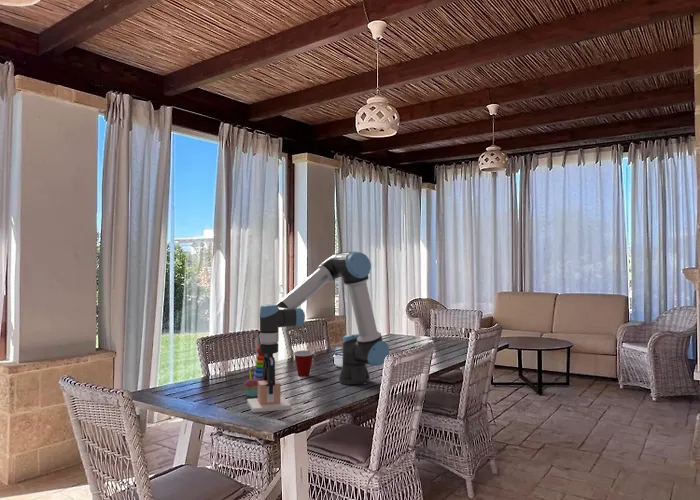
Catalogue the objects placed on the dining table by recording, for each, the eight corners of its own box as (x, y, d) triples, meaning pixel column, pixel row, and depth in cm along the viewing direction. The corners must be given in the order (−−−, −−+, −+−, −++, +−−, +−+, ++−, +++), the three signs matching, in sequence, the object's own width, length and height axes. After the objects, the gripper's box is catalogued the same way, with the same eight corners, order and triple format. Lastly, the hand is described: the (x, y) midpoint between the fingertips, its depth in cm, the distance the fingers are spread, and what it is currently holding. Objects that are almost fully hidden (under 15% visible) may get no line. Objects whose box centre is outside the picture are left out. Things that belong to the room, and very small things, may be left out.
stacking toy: (266, 386, 244) (266, 346, 245) (250, 385, 246) (250, 346, 246) (272, 383, 252) (272, 344, 253) (256, 382, 254) (256, 343, 254)
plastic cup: (289, 376, 266) (289, 353, 267) (299, 372, 276) (299, 349, 277) (308, 378, 262) (308, 354, 262) (317, 374, 272) (317, 351, 272)
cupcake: (253, 398, 223) (253, 370, 223) (238, 396, 227) (238, 368, 228) (266, 394, 230) (266, 367, 230) (252, 391, 235) (252, 365, 235)
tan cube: (276, 398, 217) (276, 379, 217) (280, 403, 210) (280, 383, 210) (257, 400, 214) (257, 381, 214) (260, 405, 207) (260, 385, 208)
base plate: (282, 399, 222) (282, 396, 222) (290, 409, 207) (290, 405, 207) (247, 402, 217) (247, 399, 217) (252, 412, 202) (252, 408, 202)
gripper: (255, 339, 221) (255, 394, 220) (264, 347, 202) (263, 406, 201) (273, 338, 223) (273, 392, 223) (283, 346, 204) (282, 405, 204)
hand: (268, 399), depth 212 cm, fingers open, 7 cm apart
